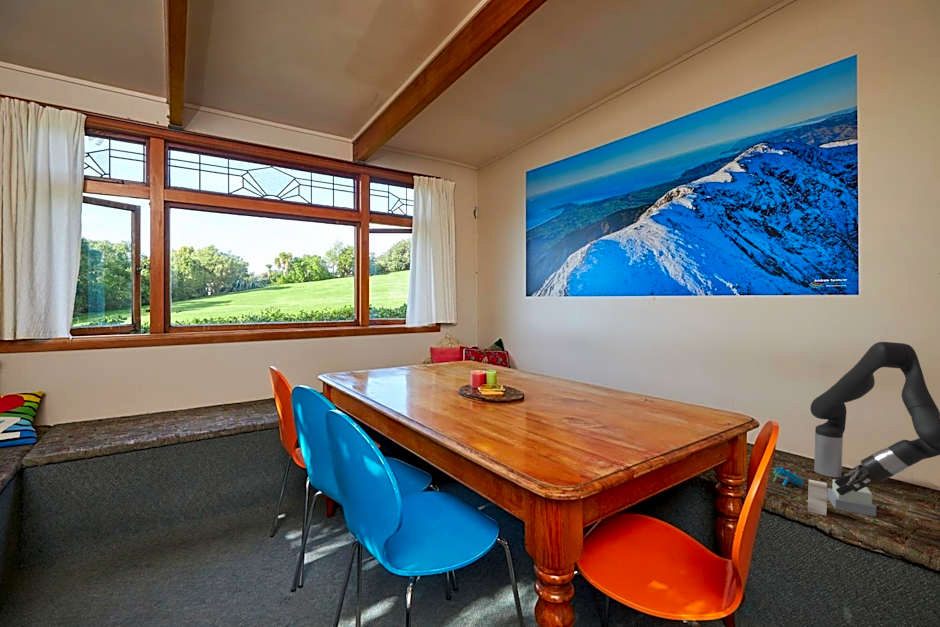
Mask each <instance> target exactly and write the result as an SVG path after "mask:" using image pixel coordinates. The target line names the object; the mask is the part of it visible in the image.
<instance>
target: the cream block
mask: <svg viewBox="0 0 940 627" xmlns="http://www.w3.org/2000/svg"><path fill="white" fill-rule="evenodd" d="M807 492H808V494H807V512H809V513H813V514H817V515H821V516H824V517H827V507H828V497H827V495H828V484H827V482H824V481H819V480H818V481H817V480H812V479H808V490H807Z"/></svg>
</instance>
